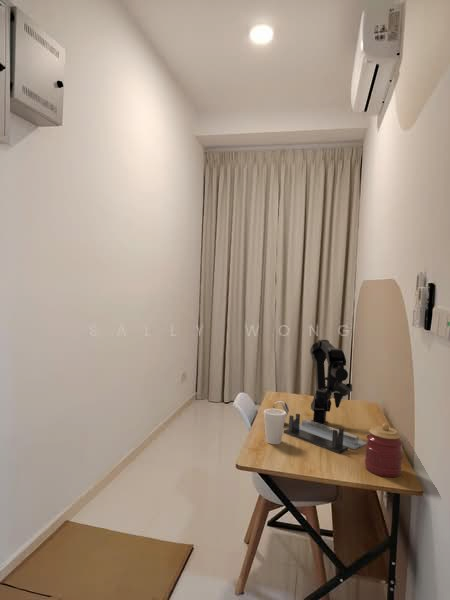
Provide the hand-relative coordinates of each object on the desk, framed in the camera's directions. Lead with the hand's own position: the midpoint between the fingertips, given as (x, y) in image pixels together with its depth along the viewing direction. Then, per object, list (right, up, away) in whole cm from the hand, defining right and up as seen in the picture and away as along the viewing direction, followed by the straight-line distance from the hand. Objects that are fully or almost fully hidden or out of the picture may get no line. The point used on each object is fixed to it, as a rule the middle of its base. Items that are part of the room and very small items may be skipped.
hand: (331, 409), depth 187 cm
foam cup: (-29, -11, -13) cm, 33 cm away
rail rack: (-10, -12, -9) cm, 18 cm away
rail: (-2, -11, -2) cm, 11 cm away
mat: (-2, -12, -2) cm, 12 cm away
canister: (+10, -13, -36) cm, 39 cm away
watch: (-22, -11, +12) cm, 27 cm away
